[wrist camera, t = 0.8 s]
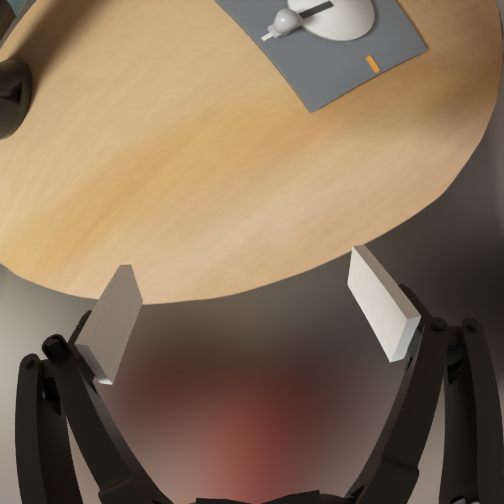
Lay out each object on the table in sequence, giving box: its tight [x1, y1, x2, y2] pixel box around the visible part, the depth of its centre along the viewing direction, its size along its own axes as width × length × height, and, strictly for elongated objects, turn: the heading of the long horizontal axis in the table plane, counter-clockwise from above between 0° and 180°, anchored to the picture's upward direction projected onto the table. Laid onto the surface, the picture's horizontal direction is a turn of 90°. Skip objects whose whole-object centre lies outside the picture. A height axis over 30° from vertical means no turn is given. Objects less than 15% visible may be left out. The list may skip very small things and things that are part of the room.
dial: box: [267, 0, 374, 42], centre depth 22 cm, size 16×12×5 cm
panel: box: [214, 0, 428, 112], centre depth 25 cm, size 24×24×2 cm
